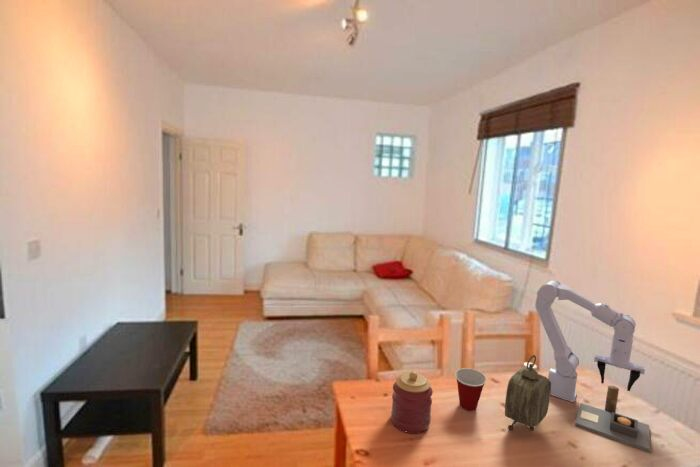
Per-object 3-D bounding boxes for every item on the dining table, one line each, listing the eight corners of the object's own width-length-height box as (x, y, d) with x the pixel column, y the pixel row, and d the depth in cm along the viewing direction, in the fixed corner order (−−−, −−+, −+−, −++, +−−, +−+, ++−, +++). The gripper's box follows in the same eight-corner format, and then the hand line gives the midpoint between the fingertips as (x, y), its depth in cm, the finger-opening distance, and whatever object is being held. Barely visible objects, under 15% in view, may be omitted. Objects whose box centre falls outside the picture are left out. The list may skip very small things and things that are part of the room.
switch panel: (574, 425, 129) (576, 415, 128) (580, 405, 141) (581, 396, 140) (649, 452, 117) (651, 441, 116) (648, 427, 129) (650, 418, 128)
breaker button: (617, 423, 126) (617, 420, 126) (617, 418, 129) (617, 415, 129) (630, 428, 124) (630, 425, 124) (630, 422, 127) (631, 419, 126)
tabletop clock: (520, 412, 135) (527, 345, 131) (547, 424, 129) (556, 354, 125) (502, 430, 125) (509, 358, 121) (530, 444, 119) (539, 368, 115)
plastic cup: (450, 411, 134) (453, 379, 132) (454, 395, 144) (456, 365, 142) (483, 419, 130) (486, 386, 128) (484, 402, 140) (487, 371, 138)
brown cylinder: (604, 411, 137) (607, 388, 136) (605, 407, 140) (608, 384, 139) (615, 414, 136) (618, 391, 134) (615, 410, 138) (619, 387, 137)
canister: (434, 416, 131) (437, 368, 128) (424, 439, 119) (428, 386, 116) (397, 406, 136) (400, 359, 133) (385, 426, 124) (388, 376, 122)
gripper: (595, 347, 135) (590, 383, 137) (647, 360, 127) (641, 398, 129) (596, 341, 141) (591, 375, 143) (646, 353, 132) (640, 389, 135)
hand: (615, 385), depth 136 cm, fingers open, 7 cm apart
